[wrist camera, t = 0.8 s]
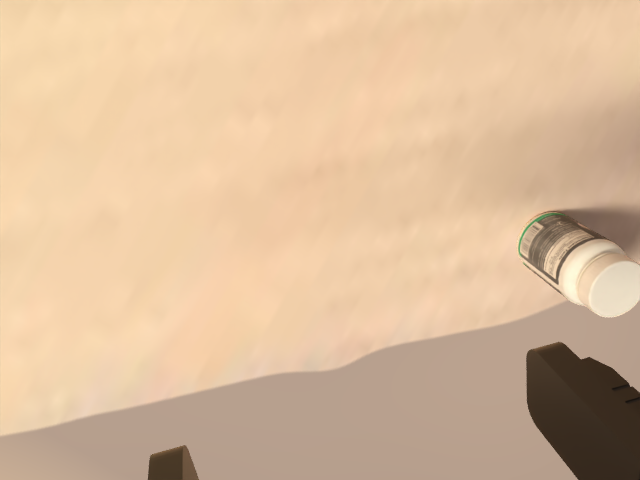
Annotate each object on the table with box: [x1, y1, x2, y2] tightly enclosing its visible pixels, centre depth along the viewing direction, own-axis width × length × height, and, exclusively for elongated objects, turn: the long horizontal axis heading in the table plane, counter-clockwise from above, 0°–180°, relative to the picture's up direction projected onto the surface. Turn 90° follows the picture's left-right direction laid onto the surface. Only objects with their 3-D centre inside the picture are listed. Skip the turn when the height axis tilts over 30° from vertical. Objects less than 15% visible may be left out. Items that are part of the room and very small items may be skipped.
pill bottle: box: [517, 212, 640, 317], centre depth 40 cm, size 5×5×8 cm
